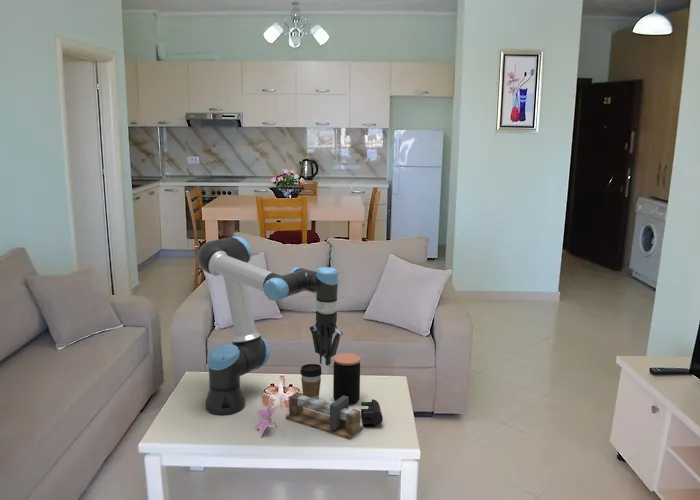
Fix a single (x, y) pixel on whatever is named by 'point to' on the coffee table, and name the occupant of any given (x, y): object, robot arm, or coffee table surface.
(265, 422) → the lily
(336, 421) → the collar
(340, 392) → the coffee jar
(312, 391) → the coffee cup
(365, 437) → the coffee table surface
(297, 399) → the pipe stand
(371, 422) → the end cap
